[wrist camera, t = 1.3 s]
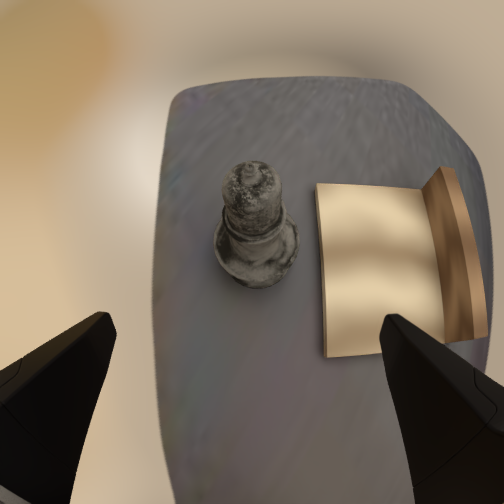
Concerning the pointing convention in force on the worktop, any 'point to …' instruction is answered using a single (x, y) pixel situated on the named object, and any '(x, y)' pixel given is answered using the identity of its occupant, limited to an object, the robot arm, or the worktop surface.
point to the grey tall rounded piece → (255, 227)
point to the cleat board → (397, 263)
